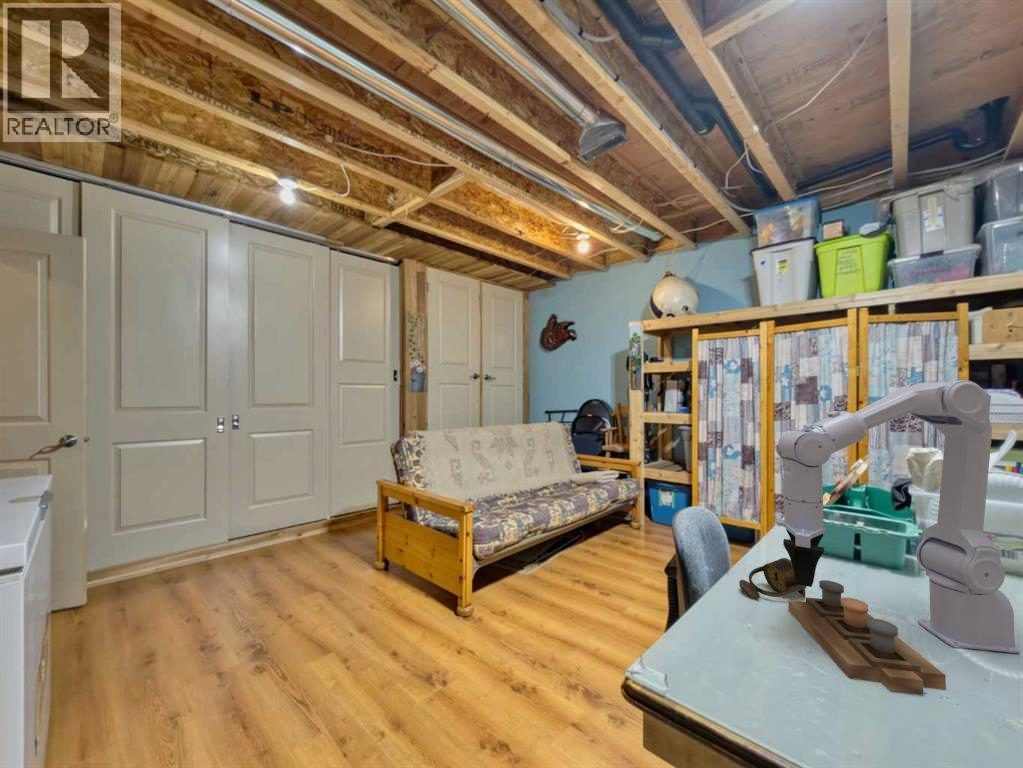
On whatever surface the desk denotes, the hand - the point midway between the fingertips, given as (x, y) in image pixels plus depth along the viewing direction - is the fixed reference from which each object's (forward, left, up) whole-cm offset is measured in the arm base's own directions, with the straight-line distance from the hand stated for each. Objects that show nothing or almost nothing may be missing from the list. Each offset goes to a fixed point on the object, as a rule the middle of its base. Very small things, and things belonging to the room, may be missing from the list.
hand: (804, 577), depth 75 cm
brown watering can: (0, -16, -10) cm, 18 cm away
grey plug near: (-6, +9, -6) cm, 13 cm away
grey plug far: (-6, -5, -6) cm, 10 cm away
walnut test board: (-6, +2, -10) cm, 12 cm away
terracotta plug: (-6, +2, -6) cm, 9 cm away
